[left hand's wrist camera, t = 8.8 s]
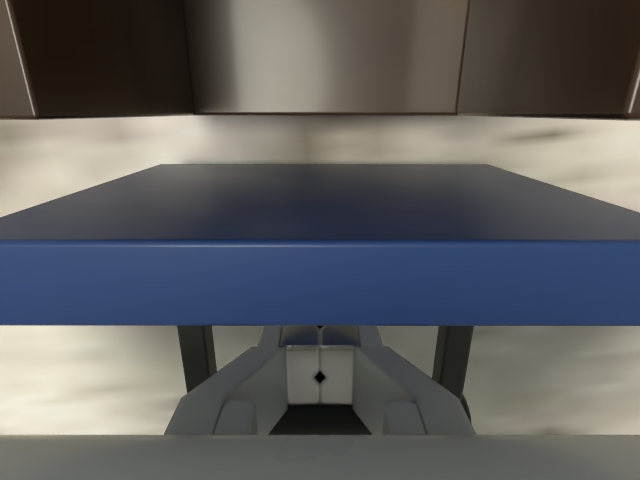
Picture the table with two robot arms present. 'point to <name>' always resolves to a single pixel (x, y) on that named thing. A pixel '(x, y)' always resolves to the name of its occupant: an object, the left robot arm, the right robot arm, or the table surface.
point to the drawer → (321, 173)
